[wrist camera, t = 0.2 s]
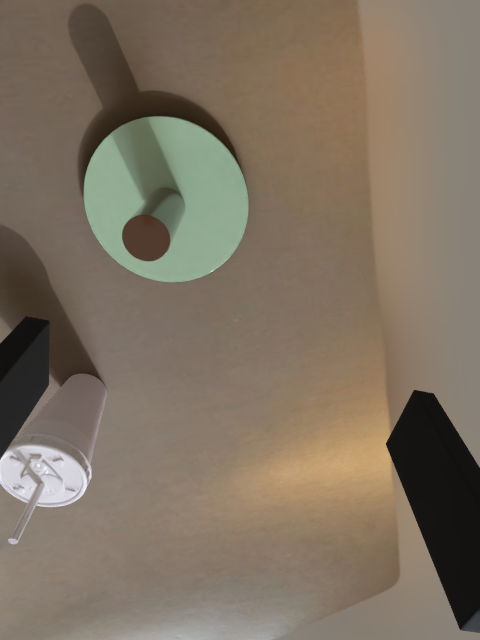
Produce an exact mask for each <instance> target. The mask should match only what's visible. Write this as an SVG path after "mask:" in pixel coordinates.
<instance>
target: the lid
mask: <svg viewBox="0 0 480 640" xmlns="http://www.w3.org/2000/svg"><path fill="white" fill-rule="evenodd" d="M84 204H85V210H86V214H87V217H88V221H89V223H90V226H91V228H92V230H93V232H94V234H95V236H96V238H97V239H98V241H99V242H100V244H101V245H102V246H103V248H104V249H105V250H106V251H107V252H108V253H109V254H110V256H111V257H112V258H114V259H115V260H116V261H117V262H118V263H119V264H121V265H122V266H124V267H125V268H127V269H128V270H130V271H132V272H134V273H136V274H138V275H140V276H143V277H146V278H149V279H153V280H157V281H164V282H182V281H188V280H193V279H196V278H199V277H202V276H205V275H207V274H208V273H210V272H212V271H214V270H215V269H217V268H218V267H220V266H221V265H222V264H223V263H224V262H225V261H226V260H227V259H228V258H229V257H230V256H231V255H232V254H233V252H234V251H235V249H236V248H237V246H238V245H239V243H240V241H241V239H242V236H243V234H244V231H245V228H246V224H247V219H248V206H249V201H248V191H247V187H246V183H245V179H244V176H243V174H242V171H241V168H240V167H239V165H238V163H237V161H236V159H235V158H234V156H233V155H232V153H231V152H230V150H229V149H228V148H227V147H226V146H225V145H224V144H223V143H222V141H221V140H219V139H218V138H217V137H216V136H215V135H213V134H212V133H211V132H209V131H208V130H206V129H205V128H203V127H202V126H200V125H197V124H195V123H193V122H191V121H188V120H185V119H182V118H177V117H171V116H149V117H143V118H140V119H136V120H133V121H130V122H128V123H126V124H124V125H122V126H120V127H119V128H117V129H116V130H114V131H112V132H111V133H110V134H109V135H108V136H107V137H106V138H105V139H104V140H103V141H102V142H101V143H100V145H99V146H98V147H97V149H96V150H95V152H94V154H93V155H92V157H91V160H90V162H89V164H88V167H87V171H86V175H85V180H84Z"/></svg>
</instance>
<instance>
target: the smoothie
mask: <svg viewBox="0 0 480 640" xmlns="http://www.w3.org/2000/svg"><path fill="white" fill-rule="evenodd" d="M106 395H107V390H106V387H105V385H104V384H103V383H102V381H101V380H99V379H98V378H96V377H95V376H92V375H89V374H75V375H73V376H71V377H70V378H68V380H67V381H66V382H65V383H64V384H63V385H62V386H61V388H60V389H59V390H58V391H57V392H56V393H55V395H54V396H53V397H52V398H51V399H50V400H49V401H48V403H47V404H46V405H45V406H44V407H43V408H42V410H41V411H40V412H39V413H38V414H37V415H36V417H35V418H34V419H33V420H32V421H31V422H30V423H29V425H28V426H27V427H26V428H25V429H24V430H23V431H22V433H21V434H20V435H19V436H18V437H15V438H14V439H13V441H12V442H11V444H10V445H9V447H8V449H7V450H6V452H5V453H4V455H3V456H2V458H1V459H0V484H1V485H2V486H3V488H4V489H5V490H7V491H8V492H9V493H10V494H11V495H13V496H14V497H16V498H18V499H20V500H22V501H24V502H27V505H26V507H25V509H24V511H23V513H22V515H21V517H20V519H19V521H18V522H17V524H16V526H15V528H14V530H13V532H12V534H11V536H10V538H9V540H8V541H9V542H10V543H12V544H17V543H18V541H19V539H20V537H21V535H22V533H23V531H24V528H25V526H26V524H27V522H28V520H29V518H30V516H31V514H32V512H33V510H34V508H35V506H36V505H37V506H44V507H58V506H64V505H67V504H70V503H73V502H74V501H76V500H78V499H79V498H80V497H81V496H82V495H83V494H84V492H85V490H86V487H87V485H88V484H89V481H90V479H91V466H90V462H91V458H92V454H93V449H94V445H95V441H96V437H97V433H98V429H99V425H100V420H101V416H102V412H103V408H104V404H105V400H106Z"/></svg>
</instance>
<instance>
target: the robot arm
mask: <svg viewBox="0 0 480 640" xmlns="http://www.w3.org/2000/svg"><path fill="white" fill-rule="evenodd" d="M48 385H49V321H48V320H43V319H38V318H33V317H27V316H26V317H25V318H24V319H23V320H22V321H21V322H20V323H19V324H18V325H17V327H16V328H15V329H14V330H13V331H12V332H11V333H10V334H9V335H8V336H7V337H6V338H5V339H4V340H3V341H2V342H1V344H0V459H1V458H2V456H3V455H4V453H5V452H6V450H7V449H8V447H9V445H10V444H11V442H12V441H13V439H14V438H15V436H16V435H17V433H18V432H19V430H20V429H21V427H22V425H23V424H24V422H25V421H26V419H27V418H28V416H29V415H30V413H31V412H32V410H33V409H34V407H35V405H36V404H37V402H38V401H39V399H40V398H41V396H42V395H43V393H44V392H45V390H46V389H47V387H48ZM386 446H387V448H388V451H389V453H390V456H391V458H392V461H393V463H394V466H395V468H396V470H397V473H398V476H399V478H400V481H401V483H402V486H403V488H404V491H405V493H406V496H407V498H408V501H409V503H410V506H411V508H412V511H413V513H414V515H415V518H416V521H417V523H418V526H419V528H420V530H421V533H422V536H423V538H424V541H425V543H426V546H427V548H428V551H429V553H430V556H431V558H432V561H433V563H434V566H435V568H436V571H437V573H438V576H439V578H440V581H441V583H442V586H443V588H444V591H445V593H446V596H447V598H448V601H449V603H450V606H451V608H452V611H453V613H454V616H455V618H456V621H457V623H458V626H459V628H460V630H463V631H470V632H478V633H480V468H479V466H478V465H477V463H476V461H475V460H474V458H473V456H472V455H471V454H470V452H469V450H468V448H467V447H466V445H465V443H464V442H463V440H462V439H461V437H460V436H459V434H458V432H457V431H456V429H455V427H454V426H453V424H452V422H451V421H450V419H449V418H448V416H447V414H446V413H445V411H444V410H443V408H442V406H441V405H440V404H439V402H438V400H437V398H436V397H435V395H434V394H433V393H428V392H423V391H417V390H414V391H413V393H412V395H411V397H410V399H409V401H408V403H407V405H406V407H405V408H404V410H403V412H402V414H401V416H400V418H399V420H398V422H397V424H396V426H395V427H394V429H393V431H392V433H391V435H390V437H389V439H388V441H387V443H386Z"/></svg>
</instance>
